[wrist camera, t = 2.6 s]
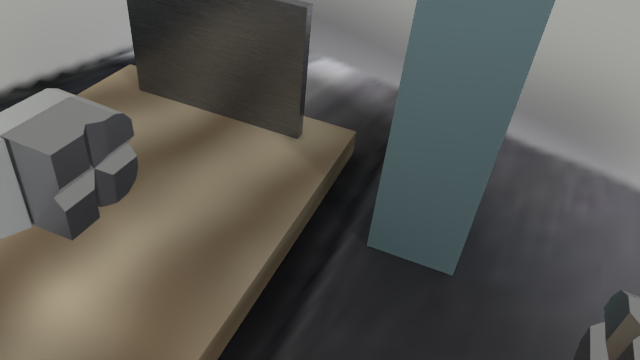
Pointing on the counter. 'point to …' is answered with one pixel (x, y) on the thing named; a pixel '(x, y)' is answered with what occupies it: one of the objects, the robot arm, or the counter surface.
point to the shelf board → (168, 237)
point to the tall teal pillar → (451, 122)
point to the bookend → (226, 57)
